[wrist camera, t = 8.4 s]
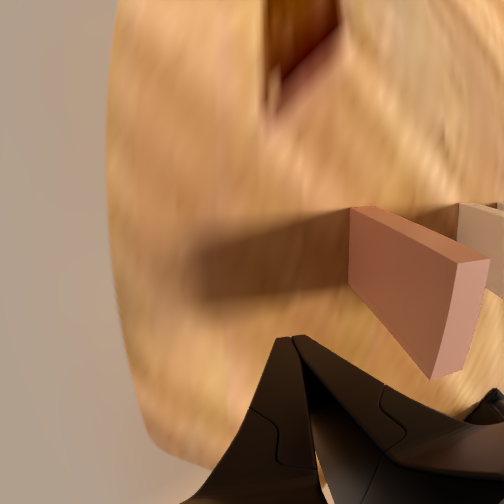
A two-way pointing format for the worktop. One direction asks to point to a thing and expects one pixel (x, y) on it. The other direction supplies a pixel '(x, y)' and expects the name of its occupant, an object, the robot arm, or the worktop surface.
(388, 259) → the pink rectangular block
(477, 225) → the ivory tile
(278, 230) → the worktop surface
